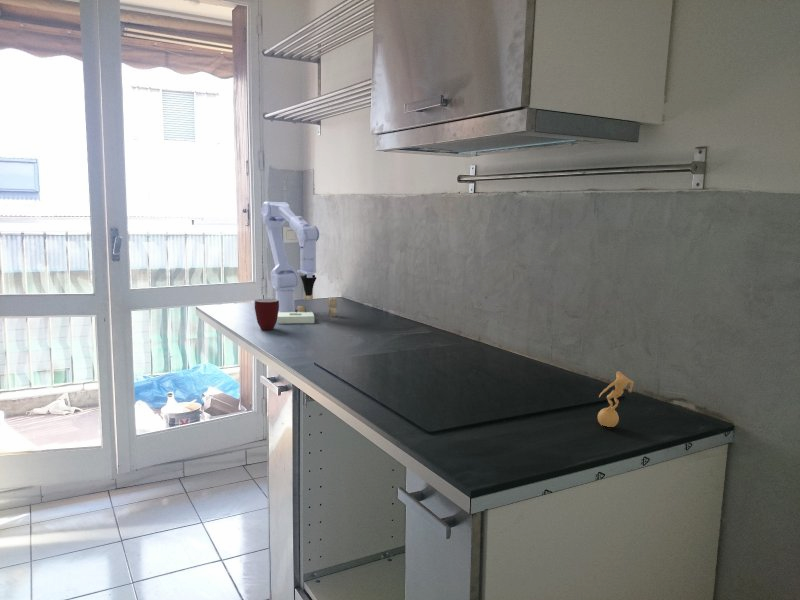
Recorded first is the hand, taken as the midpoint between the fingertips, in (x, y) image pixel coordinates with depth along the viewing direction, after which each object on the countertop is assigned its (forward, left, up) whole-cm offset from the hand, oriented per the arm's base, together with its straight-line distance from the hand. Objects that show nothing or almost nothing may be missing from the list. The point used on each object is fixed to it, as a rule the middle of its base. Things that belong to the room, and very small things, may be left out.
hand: (308, 294), depth 228 cm
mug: (+18, -15, -9) cm, 26 cm away
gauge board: (+5, -5, -9) cm, 11 cm away
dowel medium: (0, 0, -2) cm, 2 cm away
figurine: (+124, +53, -9) cm, 135 cm away
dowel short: (-4, -2, -9) cm, 10 cm away
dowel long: (-4, +10, -9) cm, 14 cm away
